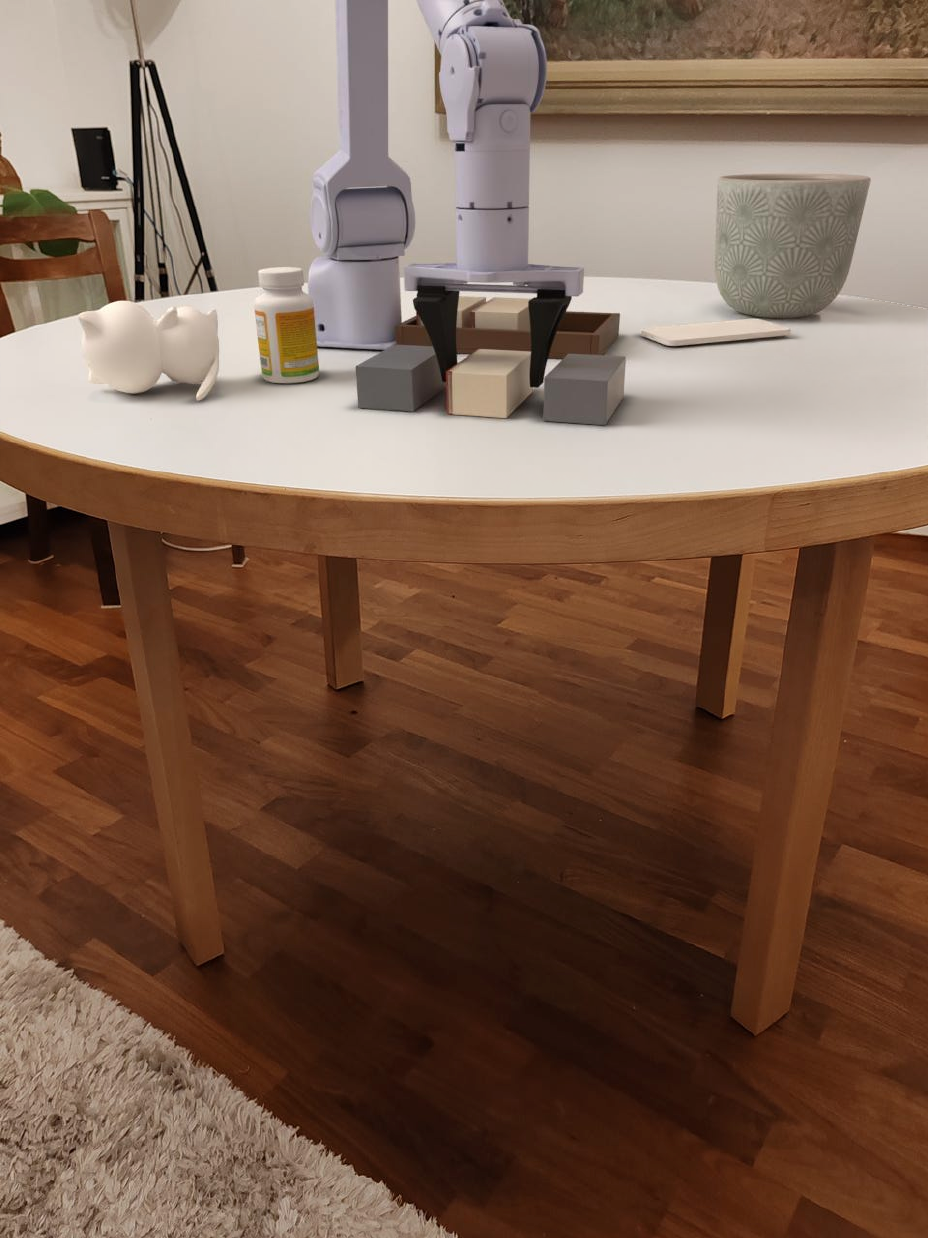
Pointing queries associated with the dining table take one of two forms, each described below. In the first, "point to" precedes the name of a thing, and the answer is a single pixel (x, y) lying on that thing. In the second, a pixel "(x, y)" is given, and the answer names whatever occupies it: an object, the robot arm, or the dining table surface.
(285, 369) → the supplement bottle
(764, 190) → the planter
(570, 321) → the book tray
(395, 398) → the gray rectangular block
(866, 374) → the dining table surface
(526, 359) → the beige rectangular block
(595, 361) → the grey box
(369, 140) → the robot arm
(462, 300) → the beige book
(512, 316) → the ivory book
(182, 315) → the cat figurine
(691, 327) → the smartphone
